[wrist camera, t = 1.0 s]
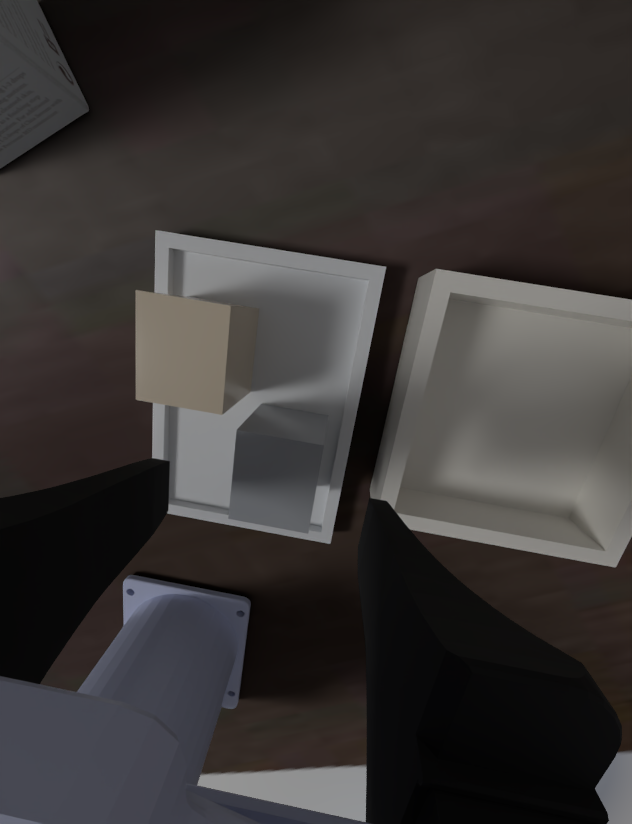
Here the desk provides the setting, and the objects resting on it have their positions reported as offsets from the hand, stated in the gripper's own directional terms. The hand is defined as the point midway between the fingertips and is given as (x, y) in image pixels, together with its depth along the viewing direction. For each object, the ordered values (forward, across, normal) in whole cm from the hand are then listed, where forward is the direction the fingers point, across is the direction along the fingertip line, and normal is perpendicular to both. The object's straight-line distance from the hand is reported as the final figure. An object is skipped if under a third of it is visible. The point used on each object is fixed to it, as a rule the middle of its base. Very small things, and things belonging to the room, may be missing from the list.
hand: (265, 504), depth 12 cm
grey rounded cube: (+6, 0, 0) cm, 6 cm away
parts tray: (+6, +2, -2) cm, 7 cm away
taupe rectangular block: (+6, +4, -4) cm, 8 cm away
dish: (+6, -10, -3) cm, 12 cm away
